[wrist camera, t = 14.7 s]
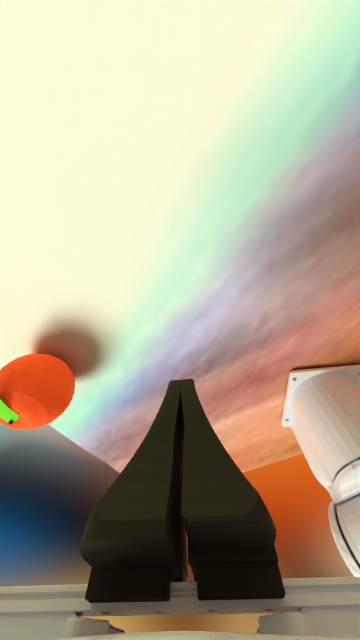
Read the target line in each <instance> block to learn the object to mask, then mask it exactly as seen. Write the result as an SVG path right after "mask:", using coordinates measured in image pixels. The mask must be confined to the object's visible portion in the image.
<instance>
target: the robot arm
mask: <svg viewBox="0 0 360 640" xmlns="http://www.w3.org/2000/svg"><path fill="white" fill-rule="evenodd" d="M282 426H283V427H291V428H292V430H293V432H294V435H295V437H296V439H297V441H298V443H299V445H300V447H301V449H302V451H303V453H304V455H305V457H306V460H307V462H308V464H309V466H310V468H311V470H312V472H313V474H314V475H315V477H316V478H317V480H318V481H319V482H320V483H321V484H322V485H323V486H324V487H325V488H326V489H327V490H328V491H329V493H330V495H331V497H332V499H333V501H332V502H331V503H330V505H329V509H328V514H329V521H330V527H331V531H332V534H333V537H334V540H335V543H336V545H337V547H338V549H339V552H340V553H341V556H342V557H343V559H344V561H345V563H346V565H347V566H348V568H349V569H350V571H351V573H352V574H353V575H354V577H333V578H331V577H330V578H297V579H296V578H295V579H282V578H281V574H280V570H279V567H278V563H277V562H278V558H277V554H276V550H275V546H274V542H275V538H276V529H275V526H274V523H273V520H272V518H271V516H270V514H269V512H268V510H267V508H266V506H265V504H264V502H263V500H262V499H261V497H260V495H259V493H258V492H257V491H256V490H255V488H254V487H253V486H252V485H251V484H250V482H249V481H248V480H247V479H246V477H245V476H244V475H243V473H242V472H241V471H240V469H239V468H238V467H237V465H236V464H235V463H234V461H233V460H232V458H231V457H230V455H229V454H228V453H227V451H226V450H225V448H224V447H223V445H222V444H221V442H220V440H219V439H218V437H217V435H216V434H215V432H214V430H213V428H212V427H211V425H210V423H209V421H208V419H207V417H206V415H205V413H204V411H203V408H202V406H201V404H200V401H199V399H198V396H197V393H196V390H195V385H194V380H193V379H185V380H173V381H170V382H169V385H168V389H167V392H166V395H165V397H164V400H163V402H162V405H161V407H160V409H159V412H158V414H157V416H156V418H155V420H154V422H153V424H152V426H151V428H150V430H149V431H148V433H147V435H146V437H145V438H144V440H143V442H142V443H141V445H140V446H139V448H138V449H137V451H136V453H135V454H134V456H133V457H132V458H131V460H130V461H129V463H128V464H127V465H126V467H125V468H124V469H123V471H122V472H121V473H120V475H119V476H118V477H117V479H116V480H115V481H114V482H113V483H112V485H111V486H110V487H109V488H108V490H106V492H105V493H104V494H103V495H102V496H101V497H100V499H99V500H98V501H97V502H96V503H95V505H94V507H93V510H92V512H91V515H90V517H89V520H88V522H87V525H86V528H85V532H84V535H83V539H82V542H81V546H80V550H79V552H80V554H81V556H82V558H84V560H85V561H86V562H88V564H90V566H91V567H92V570H91V574H90V578H89V583H88V584H86V585H50V586H15V587H0V640H360V365H349V366H338V367H326V368H314V369H303V370H293V371H291V372H290V374H289V380H288V386H287V392H286V399H285V405H284V411H283V417H282ZM186 533H187V537H188V563H189V564H190V565H191V568H192V572H193V575H194V581H191V582H185V581H186V579H187V577H188V572H187V552H186V551H187V550H186ZM233 613H234V614H235V613H278V614H272V615H266V616H261V617H259V620H258V622H259V628H258V630H257V634H254V633H234V632H210V631H154V632H134V633H125V632H124V630H121V629H118V628H115V627H113V626H112V625H110V623H109V621H108V620H100V619H91V618H82V617H81V616H130V615H177V614H178V615H180V614H233Z"/></svg>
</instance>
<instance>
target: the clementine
mask: <svg viewBox="0 0 360 640" xmlns="http://www.w3.org/2000/svg"><path fill="white" fill-rule="evenodd" d="M74 389H75V379H74V376H73V373H72V371H71V369H70V368H69V366H68V365H67V364H66V363H65V362H64V361H62V360H61V359H59V358H57V357H55V356H52V355H48V354H30V355H25V356H22V357H19V358H17V359H15V360H13V361H11V362H10V363H8V364H7V365H6V366H4V367H3V368H2V369H1V370H0V423H1V424H3V425H5V426H7V427H10V428H13V429H33V428H38V427H40V426H43V425H45V424H48V423H50V422H52V421H53V420H55V419H56V418H57V417H58V416H60V415H61V414H62V413H63V412H64V411H65V409H66V408H67V407H68V405H69V404H70V402H71V400H72V397H73V394H74Z"/></svg>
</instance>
